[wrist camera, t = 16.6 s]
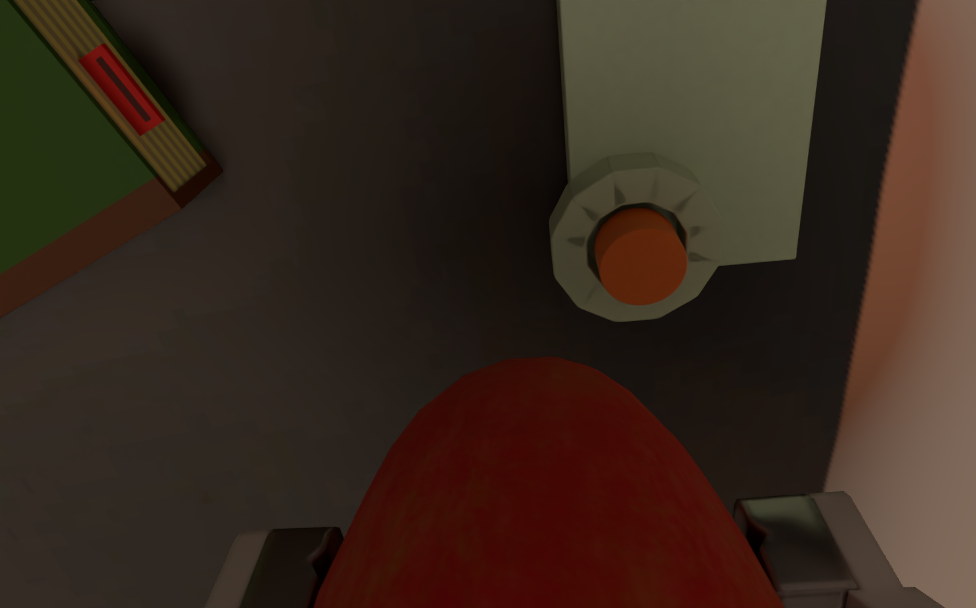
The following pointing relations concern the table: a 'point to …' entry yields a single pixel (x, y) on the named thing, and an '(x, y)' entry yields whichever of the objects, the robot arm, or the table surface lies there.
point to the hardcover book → (81, 146)
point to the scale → (684, 132)
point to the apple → (542, 506)
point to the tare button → (639, 256)
